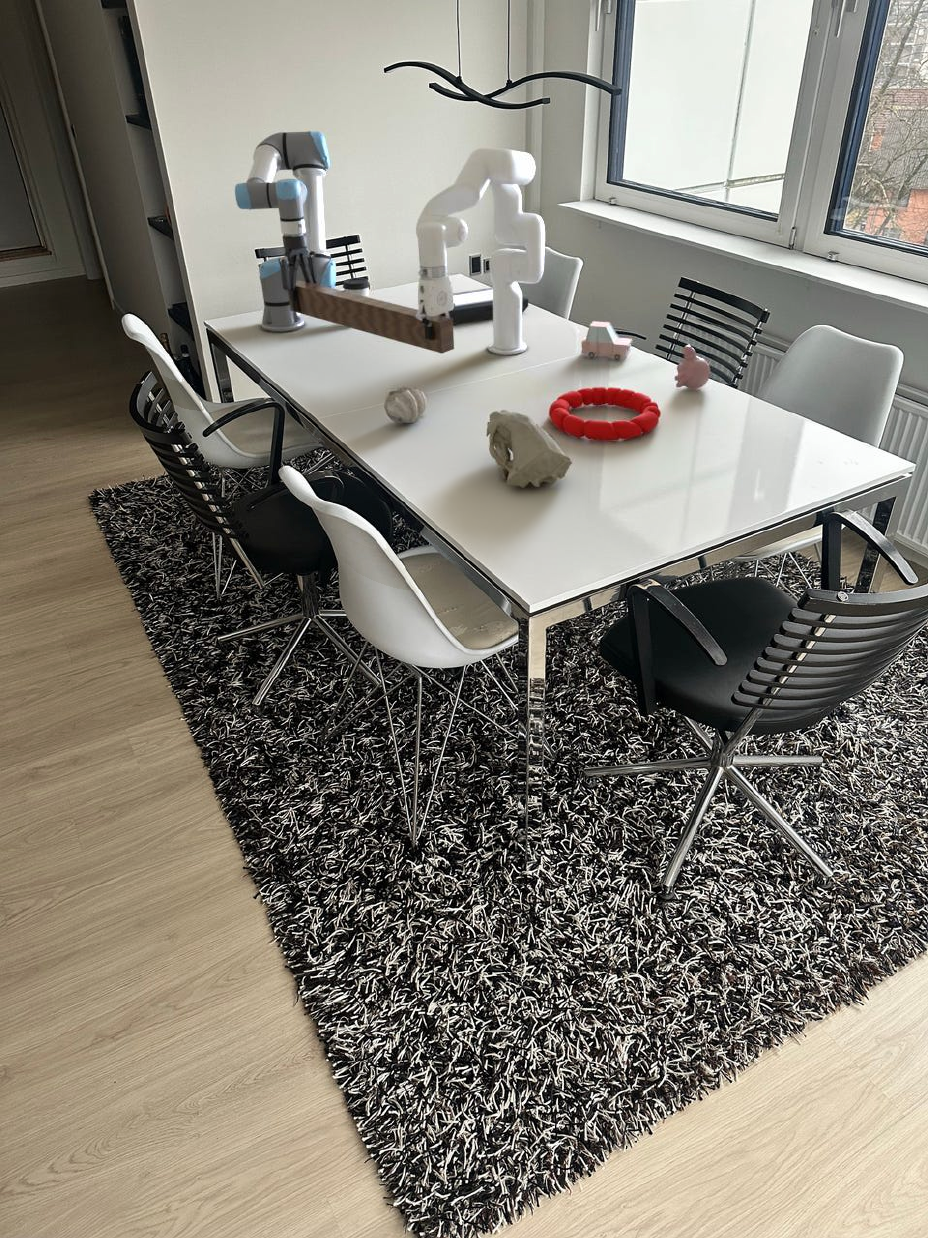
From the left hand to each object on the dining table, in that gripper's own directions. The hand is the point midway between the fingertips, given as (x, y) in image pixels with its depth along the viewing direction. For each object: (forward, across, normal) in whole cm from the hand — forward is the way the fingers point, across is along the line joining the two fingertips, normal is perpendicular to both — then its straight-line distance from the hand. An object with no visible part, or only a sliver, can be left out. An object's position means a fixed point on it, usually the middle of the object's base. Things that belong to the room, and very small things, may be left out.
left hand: (303, 308), depth 294 cm
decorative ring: (+13, +10, -113) cm, 115 cm away
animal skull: (+13, -28, -115) cm, 119 cm away
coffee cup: (+15, +32, +10) cm, 37 cm away
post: (0, -1, -31) cm, 31 cm away
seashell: (+13, -24, -71) cm, 76 cm away
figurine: (+14, +47, -119) cm, 128 cm away
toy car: (+14, +56, -82) cm, 101 cm away
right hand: (-3, -2, -63) cm, 63 cm away
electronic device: (+15, +68, -17) cm, 71 cm away
